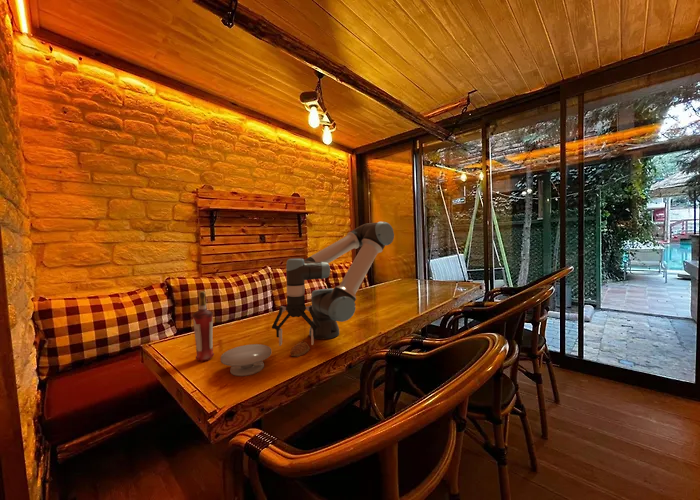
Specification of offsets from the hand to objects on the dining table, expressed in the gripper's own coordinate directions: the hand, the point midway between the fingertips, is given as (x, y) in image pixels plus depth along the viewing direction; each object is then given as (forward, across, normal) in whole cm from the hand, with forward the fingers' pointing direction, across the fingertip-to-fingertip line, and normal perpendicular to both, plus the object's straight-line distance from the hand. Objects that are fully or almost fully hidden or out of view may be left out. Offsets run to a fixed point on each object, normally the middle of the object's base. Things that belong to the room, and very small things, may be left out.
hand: (296, 344), depth 123 cm
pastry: (+4, -1, 0) cm, 4 cm away
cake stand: (+4, +16, +14) cm, 22 cm away
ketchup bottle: (+4, +38, +3) cm, 38 cm away
